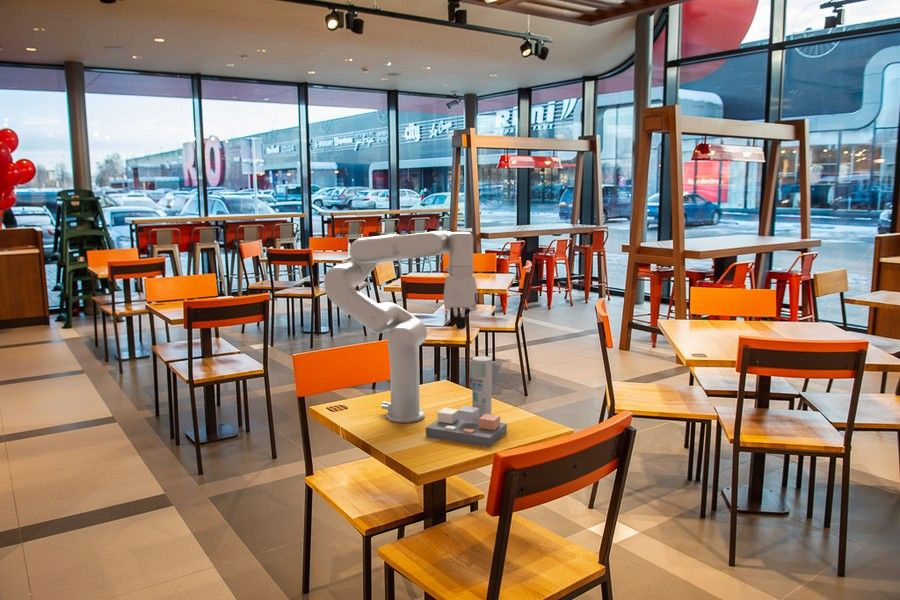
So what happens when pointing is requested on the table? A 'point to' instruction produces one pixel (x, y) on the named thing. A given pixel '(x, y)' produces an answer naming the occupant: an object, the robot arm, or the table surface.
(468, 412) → the grey key
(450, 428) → the key pad
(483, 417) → the terracotta key
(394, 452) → the table surface
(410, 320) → the robot arm
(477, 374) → the spray can
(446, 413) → the cream key
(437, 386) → the table surface
